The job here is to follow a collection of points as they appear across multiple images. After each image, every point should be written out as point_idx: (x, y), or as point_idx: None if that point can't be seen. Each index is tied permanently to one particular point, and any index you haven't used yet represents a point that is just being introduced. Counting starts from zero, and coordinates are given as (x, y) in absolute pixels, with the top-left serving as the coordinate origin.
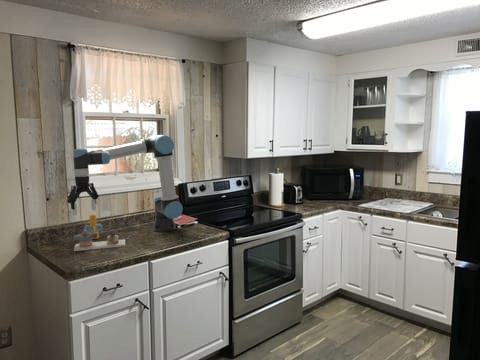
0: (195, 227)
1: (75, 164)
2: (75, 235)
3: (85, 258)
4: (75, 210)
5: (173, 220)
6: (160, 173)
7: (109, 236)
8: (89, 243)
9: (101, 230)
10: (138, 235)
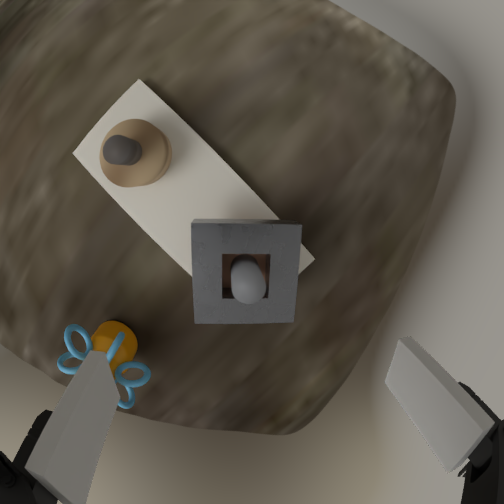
0: None
1: None
2: (288, 313)
3: (366, 119)
4: (439, 368)
5: None
6: None
7: (140, 167)
8: None
9: (80, 326)
10: (3, 184)
